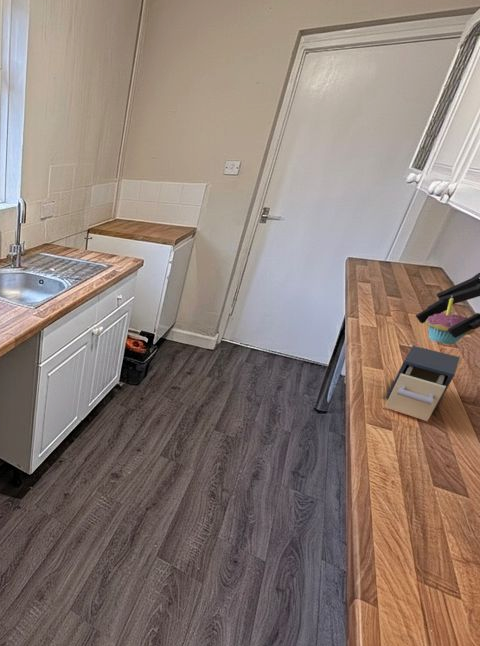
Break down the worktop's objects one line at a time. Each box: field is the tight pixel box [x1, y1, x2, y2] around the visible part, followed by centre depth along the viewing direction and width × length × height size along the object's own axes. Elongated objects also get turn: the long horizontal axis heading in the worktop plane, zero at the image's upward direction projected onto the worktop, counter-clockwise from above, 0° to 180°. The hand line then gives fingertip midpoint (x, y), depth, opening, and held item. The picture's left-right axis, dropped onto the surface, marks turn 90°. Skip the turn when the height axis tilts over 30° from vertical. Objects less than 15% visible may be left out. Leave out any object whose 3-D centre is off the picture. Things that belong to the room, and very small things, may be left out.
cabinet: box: [386, 345, 461, 414], centre depth 112 cm, size 15×9×12 cm, turn 129°
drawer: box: [384, 366, 446, 422], centre depth 105 cm, size 18×8×10 cm, turn 129°
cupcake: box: [424, 295, 476, 345], centre depth 105 cm, size 9×8×12 cm
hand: (434, 326), depth 106 cm, fingers closed on cupcake, 8 cm apart
